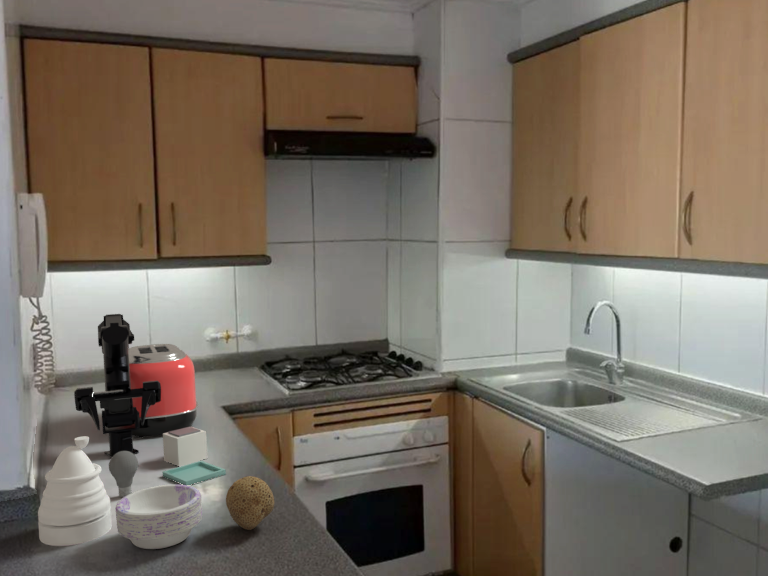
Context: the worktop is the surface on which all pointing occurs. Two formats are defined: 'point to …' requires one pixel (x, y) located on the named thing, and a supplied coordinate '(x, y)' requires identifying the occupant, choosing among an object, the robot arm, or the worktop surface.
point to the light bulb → (123, 471)
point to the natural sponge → (249, 501)
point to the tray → (194, 473)
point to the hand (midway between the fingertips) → (120, 426)
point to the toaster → (164, 387)
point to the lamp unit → (185, 446)
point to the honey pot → (74, 500)
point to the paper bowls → (159, 515)
